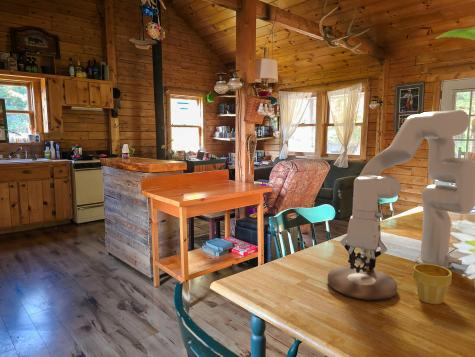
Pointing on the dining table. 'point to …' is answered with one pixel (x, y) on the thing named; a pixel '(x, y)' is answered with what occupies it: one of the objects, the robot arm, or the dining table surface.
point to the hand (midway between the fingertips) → (361, 266)
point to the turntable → (362, 283)
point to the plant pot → (432, 282)
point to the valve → (360, 260)
